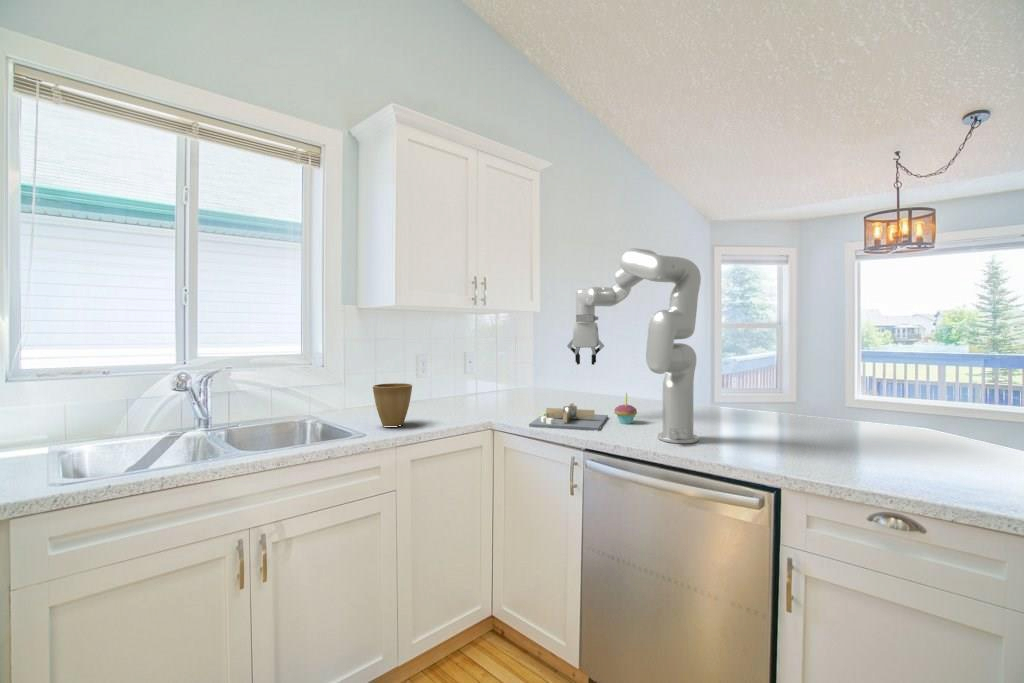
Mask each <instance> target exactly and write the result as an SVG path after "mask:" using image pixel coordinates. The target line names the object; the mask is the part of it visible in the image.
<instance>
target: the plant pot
mask: <svg viewBox="0 0 1024 683" xmlns="http://www.w3.org/2000/svg"><path fill="white" fill-rule="evenodd" d="M372 391H373V397H374V398H373V399H374V401H375V402H374V403H375V406H376V411H377V414H378V417H379V420H380V423H381V424H382V427H383V426H399V425H402V424H403V425H404V423H405V420H406V417H407V414H408V410H409V406H410V403H411V397H412V391H413V384H412V383H403V382H402V383H400V382H398V383H396V382H395V383H381V384H380V383H379V384H373V385H372Z"/></svg>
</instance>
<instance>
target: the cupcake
mask: <svg viewBox="0 0 1024 683" xmlns="http://www.w3.org/2000/svg"><path fill="white" fill-rule="evenodd" d="M614 414H615V415H616V416H617V418H618V421H619V423H620V424H622V425H631V423H632V424H633V422H634V418H635V417H636V415H637V414H638V411H637V408H635V406H633V405H631V404H628V392H626V393H625V402H624V404H620V405H618V406H615V408H614Z"/></svg>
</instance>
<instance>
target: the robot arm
mask: <svg viewBox="0 0 1024 683" xmlns="http://www.w3.org/2000/svg"><path fill="white" fill-rule="evenodd" d="M619 265H620V267H618V268H617V269H615V272H614V280H615V282H616V283H615V284H614V285H613V286H611V287H606V286H605V287H604V286H590V287H587V288H579V289H577V290H576V291H575V323H573V324H574V325H573V329H572V330H573V331H572V339H571V341H570V342H568V344H567V345H566V347H567V348H568V349H569V350H570V351H571V352H572V353H573V354H574V355H575V357H574V358H575V363H576V365H580V364H581V355H580V351H581V349H582V348H586V349H587V348H588V349H589V348H590V349H591V353H592V354H591V366H592V365H596V364H595V363H597V356H596V355H597V354H598V353H599V352H600V351H601V350H602V349H603V348H604V347H605V344H604V343H603V342H602V340H600V337H599V327H598V323H597V322H596V321H598V320H599V316H597V315H595V312H596V309H595V308H596V307H613V306H614V307H615V306H616V305H617V304H619V303H620V302H622V301H624V300H625V299H627V298H628V296H629V295H630V293H631V291H632V288H633V287H634V286H636V285H637V284H639V283H640V282H642V281H643V280H647V281H651V282H657V283H672V284H675V285H674V287H673V288H672V291H671V293H670V296H669V305H668V309H660V310H658V311H657V312H655V313H654V314H653V315H652V316H651V318H650V321H649V323H648V330H647V338H646V339H647V340H646V352H645V362H646V364H647V365H646V366H647V368H648V369H649V370H650V371H651V372H652V373H654V374H656V375H657V374H658V375H664V378H663V382H662V432H659V433H658V435H657V439H659V440H660V441H663V442H666V443H673V444H694V443H697V442H699V435H696V434H695V433H694V387H695V386H694V385H695V384H694V381H695V380H694V379H695V373H696V372H695V371H696V367H697V354H696V352H695V351H696V350H694V349H693V347H692V346H690V345H689V344H686V343H683V342H675V340H686V339H689V338H691V337H692V336H693V334H694V332H695V329H696V323H697V310H698V301H699V300H698V299H699V292H700V287H701V280H702V278H701V275H702V274H701V271H700V269H699V266H697V264H695V263H694V262H693V261H692V260H690V259H688V258H684V257H680V256H670V255H663V254H657V253H656V252H654V251H653V250H651V249H642V248H635V247H634V248H628V249H627V250H625V251H624V252H622V255H621V257H620V259H619Z"/></svg>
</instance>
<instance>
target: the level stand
mask: <svg viewBox="0 0 1024 683" xmlns="http://www.w3.org/2000/svg"><path fill="white" fill-rule="evenodd" d="M608 417H609V415H608V414H595V419H575V420H569V421H568V422H567V423H565V422H563V419H562V418H556V417H546V411H543V412H541V413H539V414H538V417H537V418H536V419H534V420H532V422H530V423H529V424H528V427H529V428H530V427H531V428H544V427H548V428H547V429H561V430H563V429H564V430H565V429H567V430H578V429H579V431H580V430H581V431H582V430H583V431H594V430H598V431H600V430H601V428H602V426H603V425H604V423H605V422H606V420H608ZM600 427H601V428H600Z"/></svg>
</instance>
